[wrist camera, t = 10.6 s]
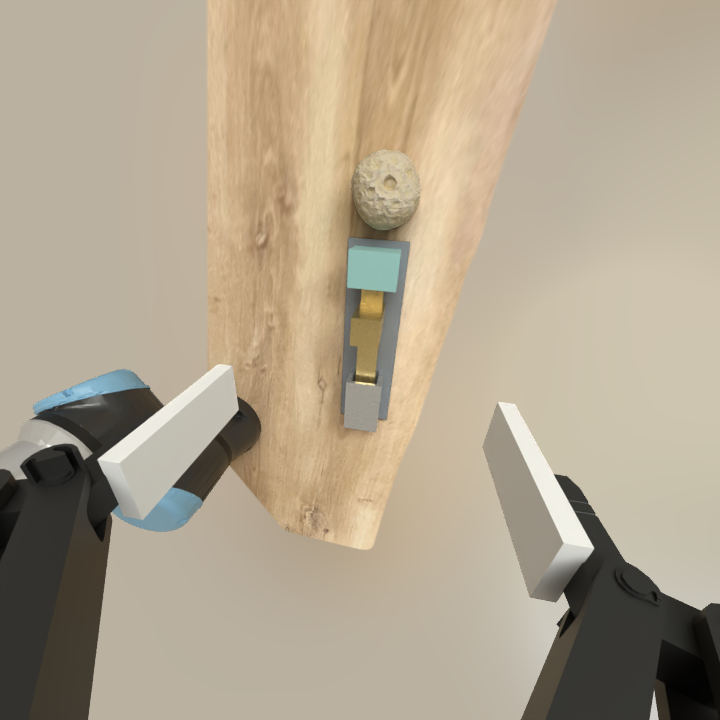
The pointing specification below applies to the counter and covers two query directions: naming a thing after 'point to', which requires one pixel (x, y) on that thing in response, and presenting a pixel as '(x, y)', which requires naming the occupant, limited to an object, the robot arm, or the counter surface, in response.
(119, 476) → the robot arm
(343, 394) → the slate board
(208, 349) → the counter surface
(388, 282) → the socket
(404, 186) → the sponge
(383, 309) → the gold stepped block
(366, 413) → the grey rectangular sleeve
